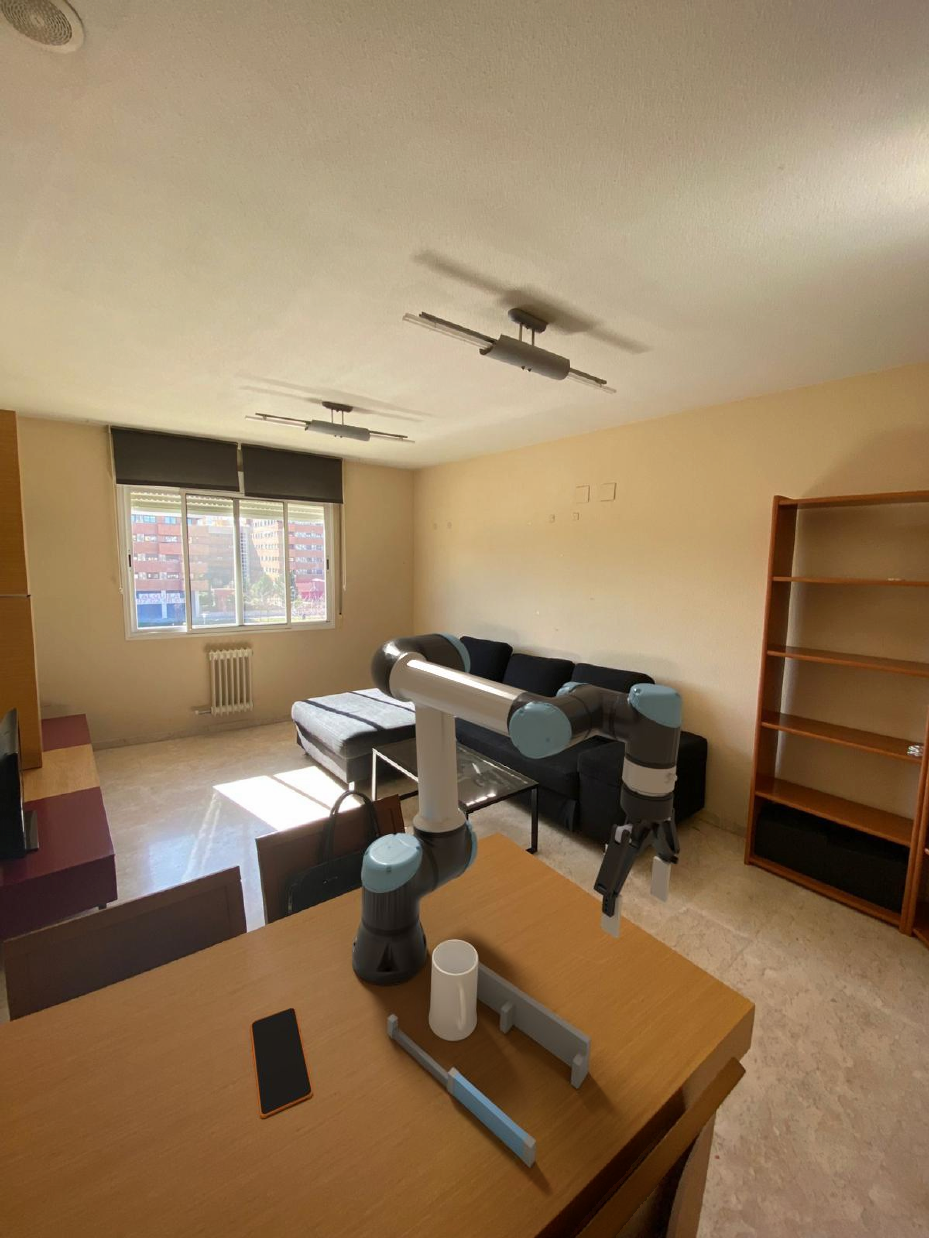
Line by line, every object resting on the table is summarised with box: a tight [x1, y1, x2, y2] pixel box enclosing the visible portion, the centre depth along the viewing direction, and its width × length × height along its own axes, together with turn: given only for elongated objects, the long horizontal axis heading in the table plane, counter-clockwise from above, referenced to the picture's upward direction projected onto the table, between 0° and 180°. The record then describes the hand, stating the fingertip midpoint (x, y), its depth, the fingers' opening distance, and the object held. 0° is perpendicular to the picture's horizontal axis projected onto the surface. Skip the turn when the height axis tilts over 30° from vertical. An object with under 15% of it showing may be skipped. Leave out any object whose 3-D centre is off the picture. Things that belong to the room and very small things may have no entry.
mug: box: [428, 939, 479, 1042], centre depth 87 cm, size 12×8×12 cm
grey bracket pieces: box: [386, 960, 592, 1168], centre depth 83 cm, size 29×17×6 cm, turn 50°
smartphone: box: [249, 1006, 314, 1119], centre depth 81 cm, size 8×17×1 cm, turn 28°
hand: (635, 913), depth 80 cm, fingers open, 13 cm apart
